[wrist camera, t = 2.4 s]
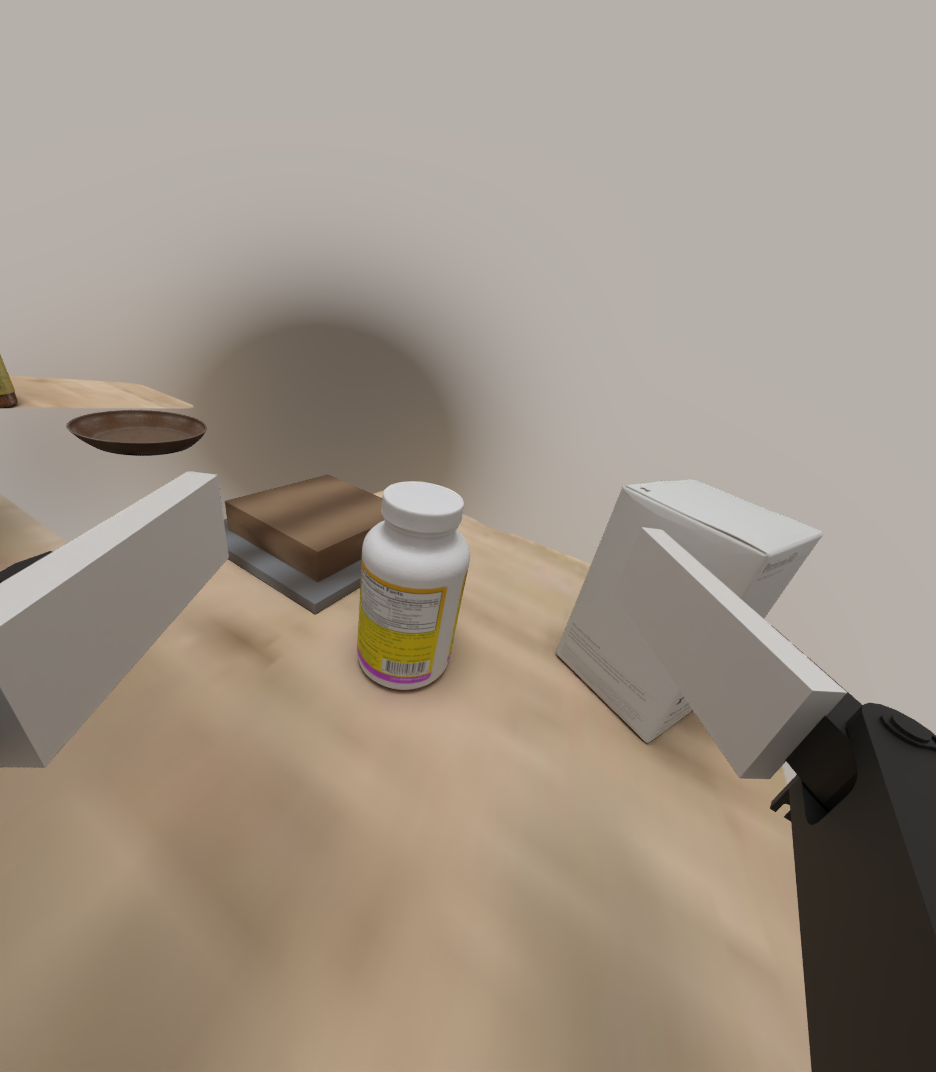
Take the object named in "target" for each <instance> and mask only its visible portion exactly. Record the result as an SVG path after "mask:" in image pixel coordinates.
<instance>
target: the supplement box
mask: <svg viewBox="0 0 936 1072" xmlns="http://www.w3.org/2000/svg"><path fill="white" fill-rule="evenodd" d="M641 527H645V528H653V529H661V530H663V531H664V532H665V533H667V534H668V535H669V536H670V537H671V538H672V539H673V540H674V541H676V542H677V543H678V544H679V545H680V546H681V547H682V548H684V549H685V550H686V551H687V552H688V553H689V554H690V555H692V556H693V557H694V558H695V559H696V560H697V561H698V562H699V563H701V564H702V565H703V566H704V567H705V568H706V569H707V570H709V571H710V572H711V573H712V574H713V575H714V576H715V577H716V578H718V579H719V580H720V581H721V582H722V583H723V584H724V585H726V586H727V587H728V588H729V589H730V590H731V591H732V592H734V593H735V594H736V595H737V596H738V597H739V598H740V599H741V600H743V601H744V602H745V603H746V604H747V605H748V606H749V607H751V608H752V609H753V610H754V611H755V612H756V613H757V614H759V615H760V616H761V617H762V618H763V619H764V618H765V617H766V615H767V614H768V612H769V611H770V609H771V608H772V607H773V605H774V604H775V602H776V601H777V599H778V598H779V597H780V595H781V594H782V592H783V591H784V589H785V588H786V586H787V585H788V584H789V582H790V581H791V579H792V578H793V576H794V575H795V574H796V572H797V571H798V569H799V568H800V566H801V565H802V563H803V562H804V561H805V559H806V558H807V556H808V555H809V554H810V552H811V551H812V549H813V548H814V547H815V545H816V544H817V542H818V541H819V539H820V538H821V537H822V535H823V532H822V531H819V530H817V529H814V528H812V527H809V526H808V525H805V524H803V523H801V522H799V521H796V520H793V519H791V518H788V517H786V516H783V515H781V514H778V513H775V512H772V511H770V510H767V509H765V508H762V507H760V506H757V505H755V504H752V503H749V502H747V501H745V500H743V499H740V498H738V497H736V496H733V495H731V494H728V493H726V492H723V491H721V490H719V489H716V488H714V487H711V486H709V485H707V484H704V483H701V482H699V481H696V480H693V479H692V480H681V481H657V482H654V483H644V484H632V485H624V486H623V487H622V490H621V492H620V495H619V497H618V500H617V502H616V504H615V507H614V510H613V512H612V515H611V517H610V519H609V522H608V524H607V527H606V529H605V532H604V534H603V537H602V540H601V542H600V544H599V547H598V549H597V552H596V554H595V556H594V559H593V562H592V564H591V566H590V569H589V571H588V574H587V576H586V579H585V581H584V584H583V586H582V589H581V591H580V593H579V596H578V598H577V601H576V603H575V606H574V609H573V611H572V614H571V616H570V618H569V621H568V623H567V626H566V628H565V631H564V633H563V636H562V638H561V641H560V643H559V646H558V648H557V651H556V654H557V655H558V656H559V657H560V658H561V659H562V660H563V661H564V662H565V663H566V664H567V665H568V666H569V667H570V668H571V669H572V670H573V671H574V672H575V673H576V674H577V675H578V676H579V677H580V678H581V679H582V680H583V681H584V682H585V683H586V684H587V685H588V686H589V687H590V688H591V689H592V690H593V691H594V692H595V693H596V694H597V695H598V696H599V697H600V698H601V699H602V700H603V701H604V702H605V703H606V704H607V705H608V706H609V707H610V708H611V709H612V710H613V711H614V712H615V713H616V714H618V715H619V716H620V717H621V718H622V719H623V720H624V721H625V722H626V723H627V724H628V725H629V726H630V727H631V728H632V729H633V730H634V731H635V732H636V733H637V734H638V735H639V736H640V737H641V739H642V740H643V741H645V742H646V743H649V742H650V741H652V740H653V739H655V738H656V737H658V736H659V735H660V734H662V733H663V732H664V731H666V730H667V729H668V728H670V727H671V726H673V725H674V724H675V723H676V722H678V721H679V720H680V719H682V718H683V717H684V716H686V715H687V714H688V713H690V712H691V711H692V710H693V709H692V708H691V706H690V705H689V703H688V702H687V701H686V699H685V698H684V696H683V695H682V693H681V692H680V690H679V689H678V687H677V686H676V684H675V683H674V681H673V680H672V679H671V677H670V676H669V674H668V673H667V671H666V670H665V668H664V667H663V665H662V664H661V662H660V661H659V659H658V658H657V657H656V655H655V654H654V652H653V651H652V649H651V648H650V646H649V645H648V643H647V642H646V640H645V639H644V637H643V636H642V635H641V633H640V632H639V630H638V629H637V627H636V626H635V624H634V623H633V621H632V620H631V618H630V617H629V616H628V614H627V613H626V611H625V610H624V608H623V607H622V605H621V604H620V602H619V601H618V599H617V598H616V596H615V595H614V594H613V593H614V591H615V588H616V586H617V584H618V581H619V579H620V577H621V574H622V572H623V570H624V567H625V565H626V562H627V560H628V558H629V555H630V553H631V551H632V548H633V546H634V543H635V541H636V539H637V536H638V534H639V532H640V529H641Z"/></svg>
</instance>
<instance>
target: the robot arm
mask: <svg viewBox="0 0 936 1072" xmlns="http://www.w3.org/2000/svg"><path fill="white" fill-rule="evenodd" d="M228 558H229V555H228V547H227V540H226V533H225V525H224V518H223V511H222V503H221V496H220V488H219V481H218V475H214V474H206V473H197V472H190V471H188V472H186V473H184V474H183V475H181V476H179V477H178V478H176V479H175V480H173V481H171V482H169V483H168V484H166V485H164V486H163V487H161V488H159V489H158V490H156V491H154V492H153V493H151V494H150V495H148V496H146V497H144V498H142V499H141V500H139V501H137V502H136V503H134V504H132V505H131V506H129V507H127V508H126V509H124V510H122V511H121V512H119V513H117V514H116V515H114V516H112V517H111V518H109V519H107V520H106V521H104V522H102V523H101V524H99V525H97V526H96V527H94V528H92V529H91V530H89V531H87V532H85V533H84V534H82V535H80V536H79V537H77V538H76V539H74V540H72V541H70V542H69V543H67V544H65V545H64V546H62V547H60V548H59V549H57V550H55V551H54V552H53V551H49V552H46V553H43V554H41V555H38V556H35V557H32V558H29V559H27V560H24V561H21V562H18V563H15V564H13V565H12V566H10V567H8V568H6V569H5V570H3V571H1V572H0V767H34V768H45V767H46V766H47V765H48V764H49V762H50V761H51V760H52V759H53V758H54V757H55V756H56V754H57V753H58V752H59V751H60V750H61V749H62V748H63V746H64V745H65V744H66V743H67V742H68V741H69V740H70V738H71V737H72V736H73V735H74V734H75V733H76V732H77V730H78V729H79V728H80V727H81V726H82V725H83V724H84V722H85V721H86V720H87V719H88V718H89V717H90V716H91V714H92V713H93V712H94V711H95V710H96V709H97V708H98V706H99V705H100V704H101V703H102V702H103V701H104V700H105V698H106V697H107V696H108V695H109V694H110V693H111V692H112V690H113V689H114V688H115V687H116V686H117V685H118V684H119V682H120V681H121V680H122V679H123V678H124V677H125V676H126V674H127V673H128V672H129V671H130V670H131V669H132V668H133V666H134V665H135V664H136V663H137V662H138V661H139V660H140V658H141V657H142V656H143V655H144V654H145V653H146V652H147V650H148V649H149V648H150V647H151V646H152V645H153V644H154V642H155V641H156V640H157V639H158V638H159V637H160V636H161V634H162V633H163V632H164V631H165V630H166V629H167V628H168V626H169V625H170V624H171V623H172V622H173V621H174V620H175V618H176V617H177V616H178V615H179V614H180V613H181V612H182V610H183V609H184V608H185V607H186V606H187V605H188V604H189V602H190V601H191V600H192V599H193V598H194V597H195V596H196V594H197V593H198V592H199V591H200V590H201V589H202V588H203V586H204V585H205V584H206V583H207V582H208V581H209V580H210V579H211V577H212V576H213V575H214V574H215V573H216V572H217V571H218V569H219V568H220V567H221V566H222V565H223V564H224V563H225V561H226V560H227V559H228ZM613 594H614V595H615V596H616V598H617V599H618V601H619V602H620V604H621V605H622V607H623V608H624V610H625V611H626V613H627V614H628V616H629V617H630V618H631V620H632V621H633V623H634V624H635V626H636V627H637V629H638V630H639V632H640V633H641V635H642V636H643V637H644V639H645V640H646V642H647V643H648V645H649V646H650V648H651V649H652V651H653V652H654V654H655V655H656V657H657V658H658V659H659V661H660V662H661V664H662V665H663V667H664V668H665V670H666V671H667V673H668V674H669V676H670V677H671V679H672V680H673V681H674V683H675V684H676V686H677V687H678V689H679V690H680V692H681V693H682V695H683V696H684V698H685V699H686V701H687V702H688V703H689V705H690V706H691V708H692V709H693V711H694V712H695V714H696V715H697V717H698V718H699V720H700V721H701V722H702V724H703V725H704V727H705V728H706V730H707V731H708V733H709V734H710V736H711V737H712V739H713V740H714V742H715V743H716V744H717V746H718V747H719V749H720V750H721V752H722V753H723V755H724V756H725V758H726V759H727V761H728V762H729V764H730V765H731V766H732V768H733V769H734V771H735V772H736V774H737V775H738V777H739V778H750V779H770V778H771V777H772V776H773V775H774V774H775V773H776V772H777V771H778V769H779V768H780V767H781V766H782V765H783V764H784V763H785V762H786V761H787V763H788V764H789V765H790V766H791V768H792V769H793V770H794V771H795V772H796V774H797V775H796V776H795V778H794V779H792V781H791V782H790V783H789V784H788V785H787V786H786V787H785V788H784V789H783V790H782V791H781V792H780V793H779V794H778V795H777V796H776V797H775V799H774V800H773V801H772V803H771V806H770V809H771V810H773V811H775V812H776V811H777V810H778V809H779V808H780V807H781V806H782V805H783V804H789V805H790V811H789V812H788V813H787V814H786V815H785V816H784V818H786V819H788V820H789V821H791V823H792V835H793V848H794V860H795V872H796V884H797V897H798V909H799V921H800V933H801V946H802V958H803V970H804V982H805V995H806V1007H807V1019H808V1031H809V1044H810V1056H811V1068H812V1072H936V735H934V734H933V733H932V732H931V731H930V730H928V729H927V728H925V727H924V726H923V725H921V724H919V723H918V722H917V721H915V720H913V719H912V718H910V717H908V716H906V715H904V714H902V713H900V712H899V711H897V710H894V709H892V708H889V707H886V706H883V705H881V704H874V703H867V704H864V705H861V703H859V702H858V701H857V700H856V699H855V698H854V697H853V696H852V695H850V694H849V693H848V692H847V691H846V690H845V689H843V688H842V687H841V686H840V685H839V684H838V683H837V682H836V681H834V680H833V679H832V678H831V677H830V676H829V675H828V674H826V673H825V672H824V671H823V670H822V669H821V668H820V667H819V666H817V665H816V664H815V663H814V662H813V661H812V660H811V659H809V658H808V657H806V656H805V655H804V654H803V652H801V651H800V650H799V649H798V648H797V647H796V646H795V645H793V644H791V643H790V641H789V640H788V639H787V638H785V637H784V636H783V635H782V634H781V633H780V632H779V631H778V630H776V629H775V628H774V627H773V626H771V625H770V624H769V623H768V622H766V621H765V620H764V619H763V618H762V617H761V616H760V615H759V614H757V613H756V612H755V611H754V610H753V609H752V608H751V607H749V606H748V605H747V604H746V603H745V602H744V601H743V600H741V599H740V598H739V597H738V596H737V595H736V594H735V593H734V592H732V591H731V590H730V589H729V588H728V587H727V586H726V585H724V584H723V583H722V582H721V581H720V580H719V579H718V578H716V577H715V576H714V575H713V574H712V573H711V572H710V571H709V570H707V569H706V568H705V567H704V566H703V565H702V564H701V563H699V562H698V561H697V560H696V559H695V558H694V557H693V556H692V555H690V554H689V553H688V552H687V551H686V550H685V549H684V548H682V547H681V546H680V545H679V544H678V543H677V542H676V541H674V540H673V539H672V538H671V537H670V536H669V535H668V534H667V533H665V532H664V531H663V530H661V529H653V528H645V527H641V529H640V532H639V534H638V536H637V539H636V541H635V543H634V546H633V548H632V551H631V553H630V555H629V558H628V560H627V562H626V565H625V567H624V570H623V572H622V574H621V577H620V579H619V581H618V584H617V586H616V588H615V591H614V593H613Z"/></svg>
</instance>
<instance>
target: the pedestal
mask: <svg viewBox="0 0 936 1072" xmlns="http://www.w3.org/2000/svg"><path fill="white" fill-rule="evenodd" d="M382 499H383V498H380V497H378V496H376V495H374V494H371V493H369V492H367V491H364V490H362V489H360V488H358V487H355V486H353V485H351V484H348V483H346V482H344V481H342V480H339V479H337V478H335V477H332V476H330V475H325V476H321V477H317V478H313V479H309V480H305V481H301V482H298V483H293V484H290V485H286V486H282V487H278V488H274V489H270V490H266V491H262V492H258V493H255V494H251V495H247V496H243V497H239V498H235V499H231V500H227V501H225V505H226V514H227V519H225V520H224V525H225V533H226V540H227V547H228V555H229V558H228V559H229V560H231V561H232V562H234V563H235V564H237V565H239V566H240V567H242V568H243V569H245V570H246V571H248V572H250V573H251V574H253V575H254V576H256V577H257V578H259V579H261V580H262V581H264V582H265V583H267V584H268V585H270V586H272V587H273V588H275V589H276V590H278V591H279V592H281V593H283V594H284V595H286V596H287V597H289V598H290V599H292V600H294V601H295V602H297V603H298V604H300V605H301V606H303V607H305V608H306V609H308V610H309V611H311V612H312V613H314V614H316V613H318V612H320V611H321V610H323V609H325V608H326V607H328V606H329V605H331V604H333V603H334V602H336V601H338V600H339V599H341V598H343V597H344V596H346V595H348V594H349V593H351V592H353V591H354V590H356V589H358V588H359V587H360V586H361V562H362V546H363V542H364V539H365V537H366V535H367V533H368V532H369V531H370V530H371V529H372V528H373V527H374V526H375V525H377V524H378V523H380V522H382V521H384V518H383V515H382V513H381V508H382Z"/></svg>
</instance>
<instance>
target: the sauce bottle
mask: <svg viewBox="0 0 936 1072" xmlns="http://www.w3.org/2000/svg"><path fill="white" fill-rule="evenodd" d="M14 391H15V390H14V387H13V385H12V382H11V380H10V377H9V375H8V372H7V370H6V368H5V365H4V363H3V360H2V358H1V355H0V408H4V407H10V406H13V405H15V404H16V403H17V398H16V395H15V392H14Z"/></svg>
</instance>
